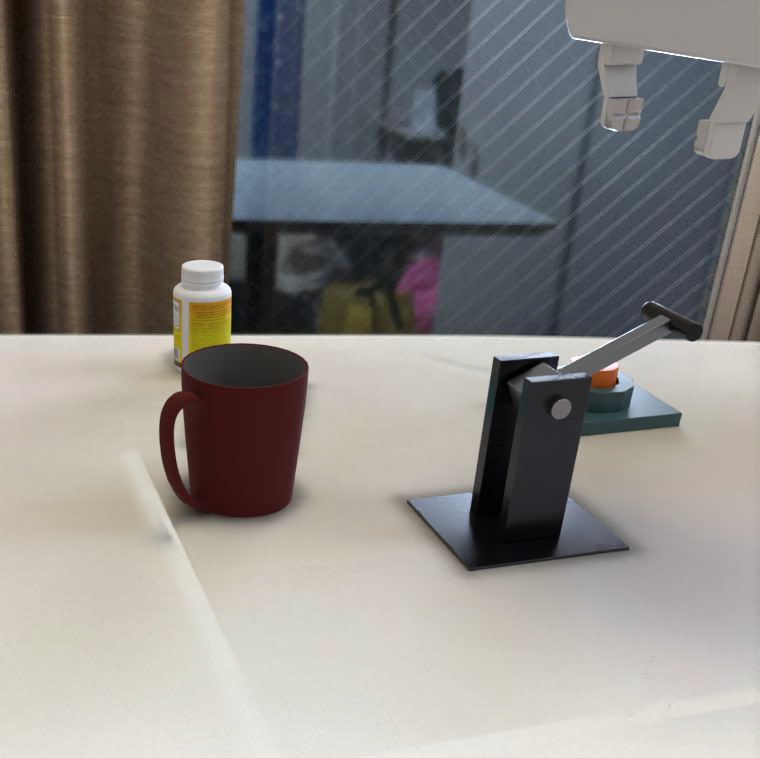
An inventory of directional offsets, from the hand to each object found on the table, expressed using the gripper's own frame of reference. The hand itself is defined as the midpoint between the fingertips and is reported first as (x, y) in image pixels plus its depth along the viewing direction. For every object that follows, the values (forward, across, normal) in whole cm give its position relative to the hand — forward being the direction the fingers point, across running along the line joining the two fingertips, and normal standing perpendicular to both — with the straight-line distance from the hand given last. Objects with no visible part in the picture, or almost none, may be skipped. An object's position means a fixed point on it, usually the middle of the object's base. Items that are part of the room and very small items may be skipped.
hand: (663, 142), depth 59 cm
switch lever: (+15, +3, -1) cm, 16 cm away
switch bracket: (+27, +3, +4) cm, 27 cm away
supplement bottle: (+27, +40, +19) cm, 52 cm away
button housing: (+27, +22, -12) cm, 37 cm away
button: (+24, +22, -12) cm, 34 cm away
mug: (+27, +10, +23) cm, 37 cm away
